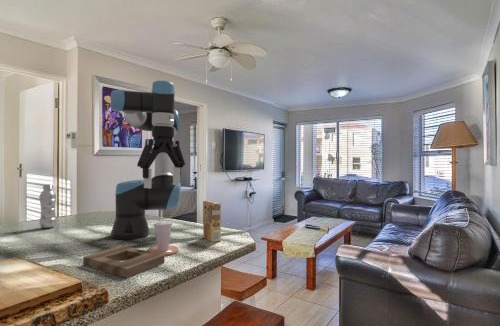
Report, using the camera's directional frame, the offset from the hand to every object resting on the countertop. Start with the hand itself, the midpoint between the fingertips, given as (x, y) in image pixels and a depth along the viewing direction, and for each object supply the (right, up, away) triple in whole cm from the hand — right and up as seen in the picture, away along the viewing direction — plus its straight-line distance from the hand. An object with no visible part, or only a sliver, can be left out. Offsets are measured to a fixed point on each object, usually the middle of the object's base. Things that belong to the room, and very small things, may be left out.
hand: (162, 186), depth 106 cm
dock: (-8, -23, -12) cm, 28 cm away
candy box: (+15, -23, +17) cm, 32 cm away
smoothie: (0, -23, 0) cm, 23 cm away
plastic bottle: (-63, -22, +33) cm, 75 cm away
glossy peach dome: (0, -23, 0) cm, 23 cm away
